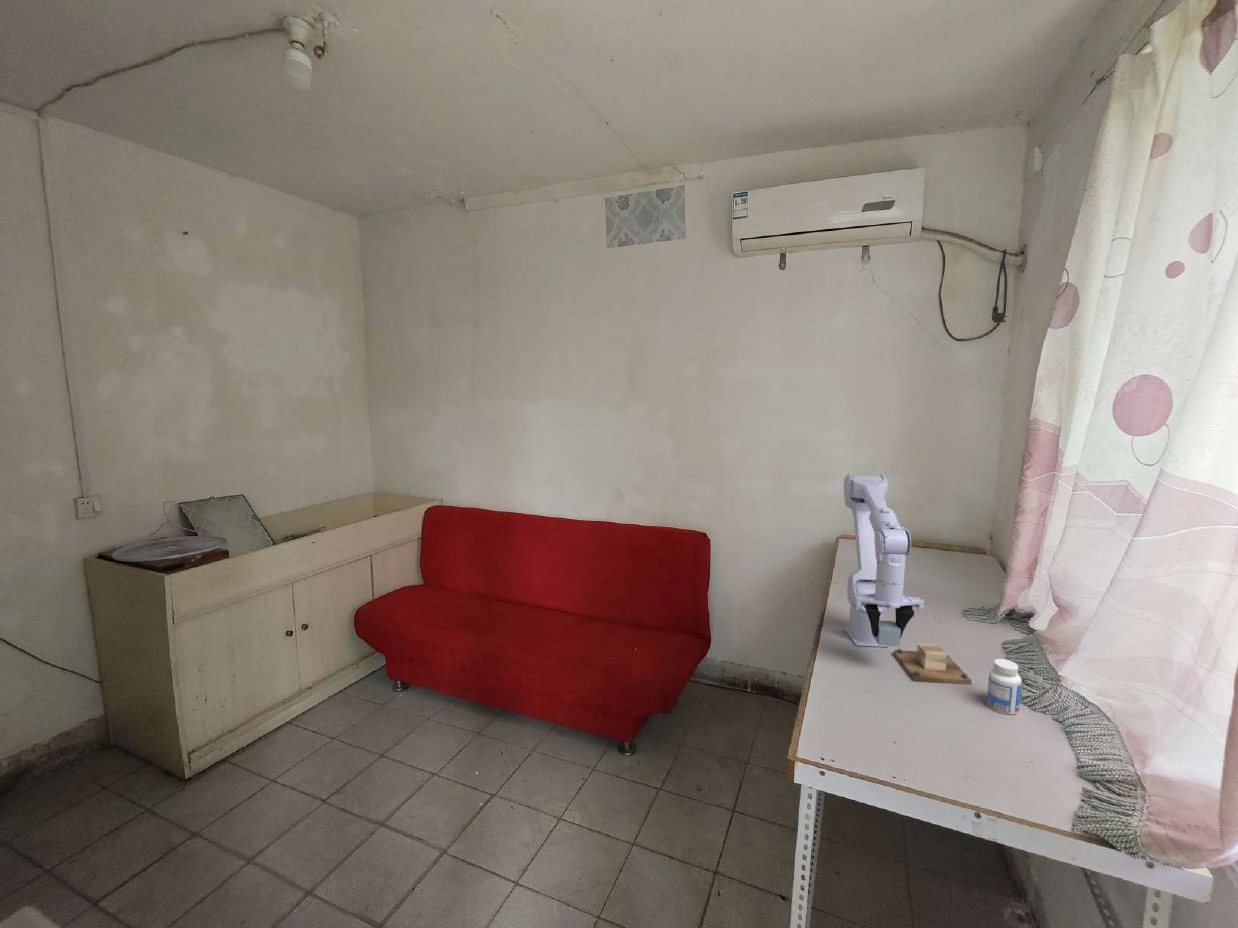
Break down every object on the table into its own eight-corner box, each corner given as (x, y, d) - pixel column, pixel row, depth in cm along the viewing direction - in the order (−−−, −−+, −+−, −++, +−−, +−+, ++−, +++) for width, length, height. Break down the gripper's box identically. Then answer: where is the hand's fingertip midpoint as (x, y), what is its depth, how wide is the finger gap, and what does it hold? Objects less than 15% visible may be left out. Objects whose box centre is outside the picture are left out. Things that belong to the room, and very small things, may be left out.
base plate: (893, 653, 128) (893, 647, 128) (945, 656, 126) (945, 649, 126) (913, 681, 116) (914, 674, 116) (971, 684, 115) (971, 677, 114)
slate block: (872, 635, 123) (873, 620, 122) (892, 636, 122) (893, 621, 122) (878, 645, 118) (879, 628, 118) (899, 646, 118) (900, 630, 117)
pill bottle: (1005, 698, 109) (1009, 656, 108) (1025, 714, 104) (1030, 670, 103) (980, 699, 109) (984, 657, 108) (999, 715, 104) (1003, 671, 102)
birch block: (916, 658, 124) (917, 643, 123) (936, 659, 123) (937, 644, 123) (924, 669, 119) (925, 653, 119) (945, 670, 119) (946, 654, 118)
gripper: (861, 585, 115) (858, 641, 117) (931, 587, 113) (927, 645, 115) (852, 573, 122) (849, 627, 124) (918, 576, 120) (914, 630, 122)
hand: (886, 635), depth 120 cm, fingers closed on slate block, 4 cm apart
